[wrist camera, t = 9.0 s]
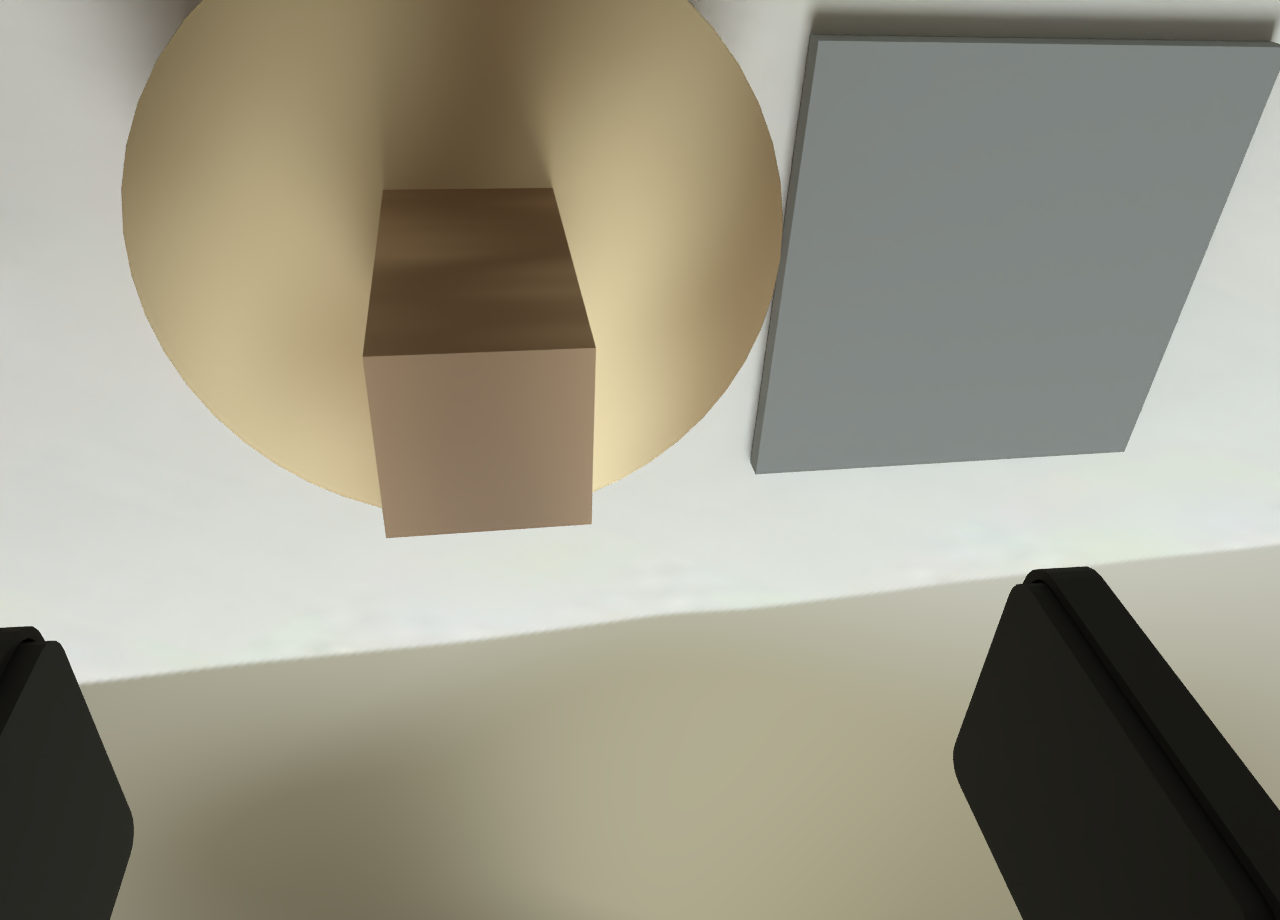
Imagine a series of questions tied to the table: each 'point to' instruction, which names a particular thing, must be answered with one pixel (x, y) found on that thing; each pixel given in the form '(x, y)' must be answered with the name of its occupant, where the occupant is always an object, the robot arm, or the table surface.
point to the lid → (453, 242)
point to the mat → (993, 241)
